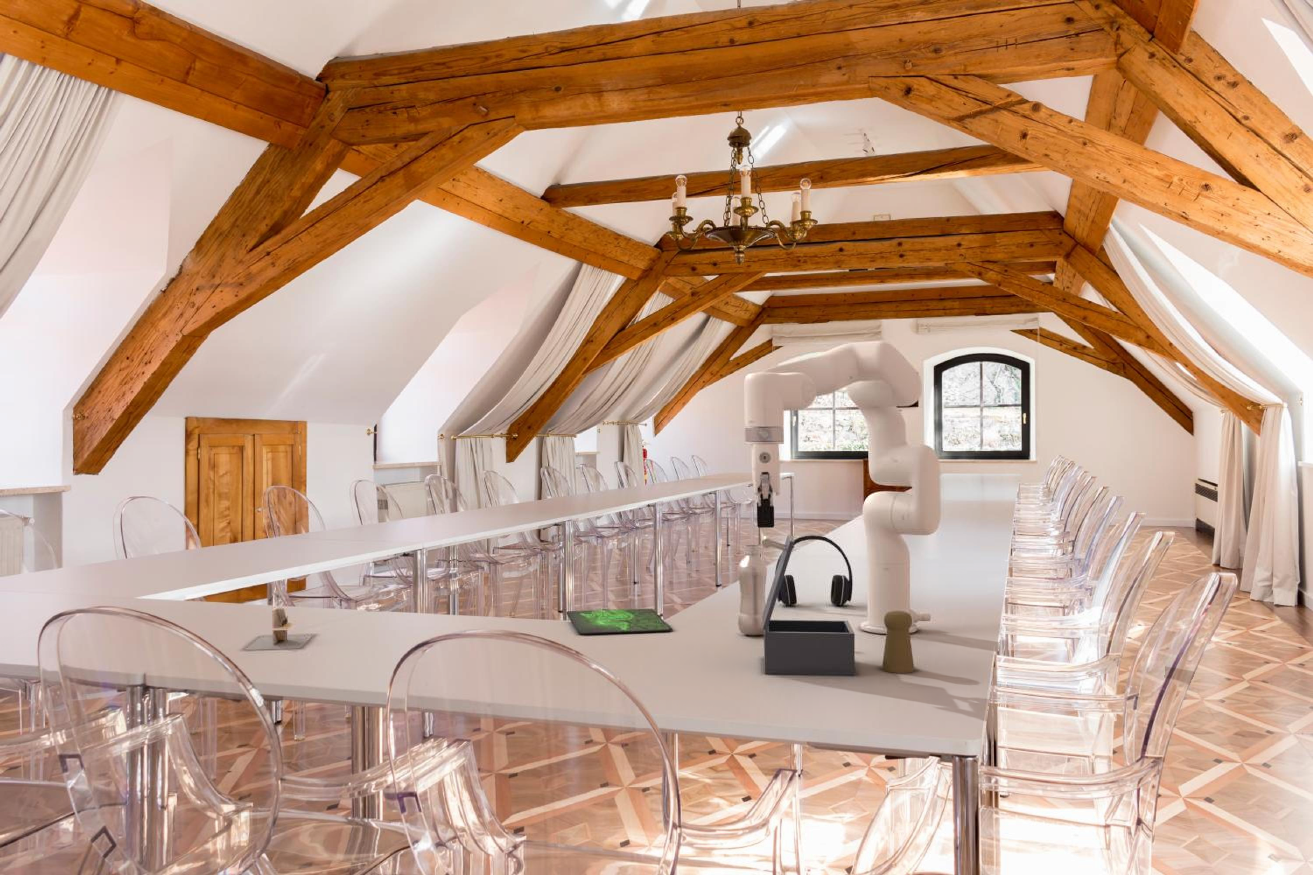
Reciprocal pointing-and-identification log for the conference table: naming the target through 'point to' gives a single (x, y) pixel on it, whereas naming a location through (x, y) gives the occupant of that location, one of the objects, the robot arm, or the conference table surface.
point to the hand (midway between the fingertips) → (765, 524)
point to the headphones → (839, 587)
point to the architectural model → (279, 634)
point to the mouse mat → (617, 621)
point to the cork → (898, 643)
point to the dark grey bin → (809, 647)
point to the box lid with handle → (778, 576)
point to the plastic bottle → (752, 590)
